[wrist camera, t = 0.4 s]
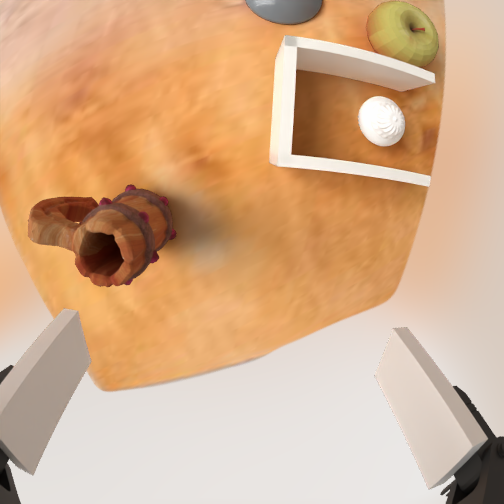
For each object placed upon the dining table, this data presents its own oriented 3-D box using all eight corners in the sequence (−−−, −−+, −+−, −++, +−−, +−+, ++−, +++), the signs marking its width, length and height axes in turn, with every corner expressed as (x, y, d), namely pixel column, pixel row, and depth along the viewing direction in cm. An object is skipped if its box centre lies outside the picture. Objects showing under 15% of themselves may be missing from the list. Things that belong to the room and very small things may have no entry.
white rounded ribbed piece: (343, 136, 33) (366, 135, 26) (353, 93, 31) (377, 83, 24) (385, 152, 33) (413, 155, 27) (394, 110, 31) (423, 105, 25)
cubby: (275, 58, 29) (284, 35, 22) (401, 83, 30) (434, 73, 22) (269, 162, 34) (277, 166, 26) (396, 178, 34) (429, 186, 27)
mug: (191, 199, 35) (158, 234, 21) (171, 257, 37) (134, 320, 23) (91, 163, 32) (18, 177, 18) (78, 219, 35) (10, 258, 21)
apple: (425, 75, 29) (459, 66, 22) (368, 74, 30) (398, 59, 22) (407, 17, 26) (435, -1, 18) (349, 11, 26) (371, -13, 19)
